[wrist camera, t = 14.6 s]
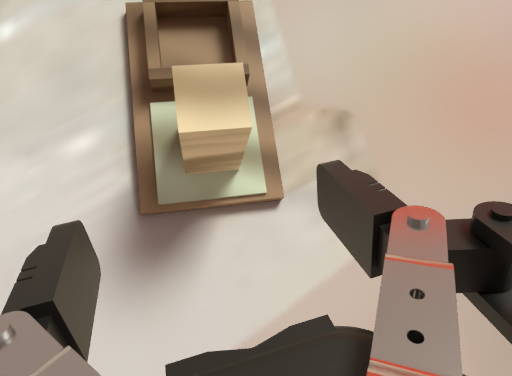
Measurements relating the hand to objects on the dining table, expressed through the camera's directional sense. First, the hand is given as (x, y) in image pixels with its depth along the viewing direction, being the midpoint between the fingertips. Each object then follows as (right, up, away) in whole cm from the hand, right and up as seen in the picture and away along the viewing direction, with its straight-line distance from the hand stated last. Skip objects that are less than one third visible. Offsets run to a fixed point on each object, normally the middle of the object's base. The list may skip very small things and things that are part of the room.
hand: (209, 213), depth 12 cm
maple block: (-2, +4, +19) cm, 20 cm away
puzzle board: (-3, +9, +21) cm, 23 cm away
